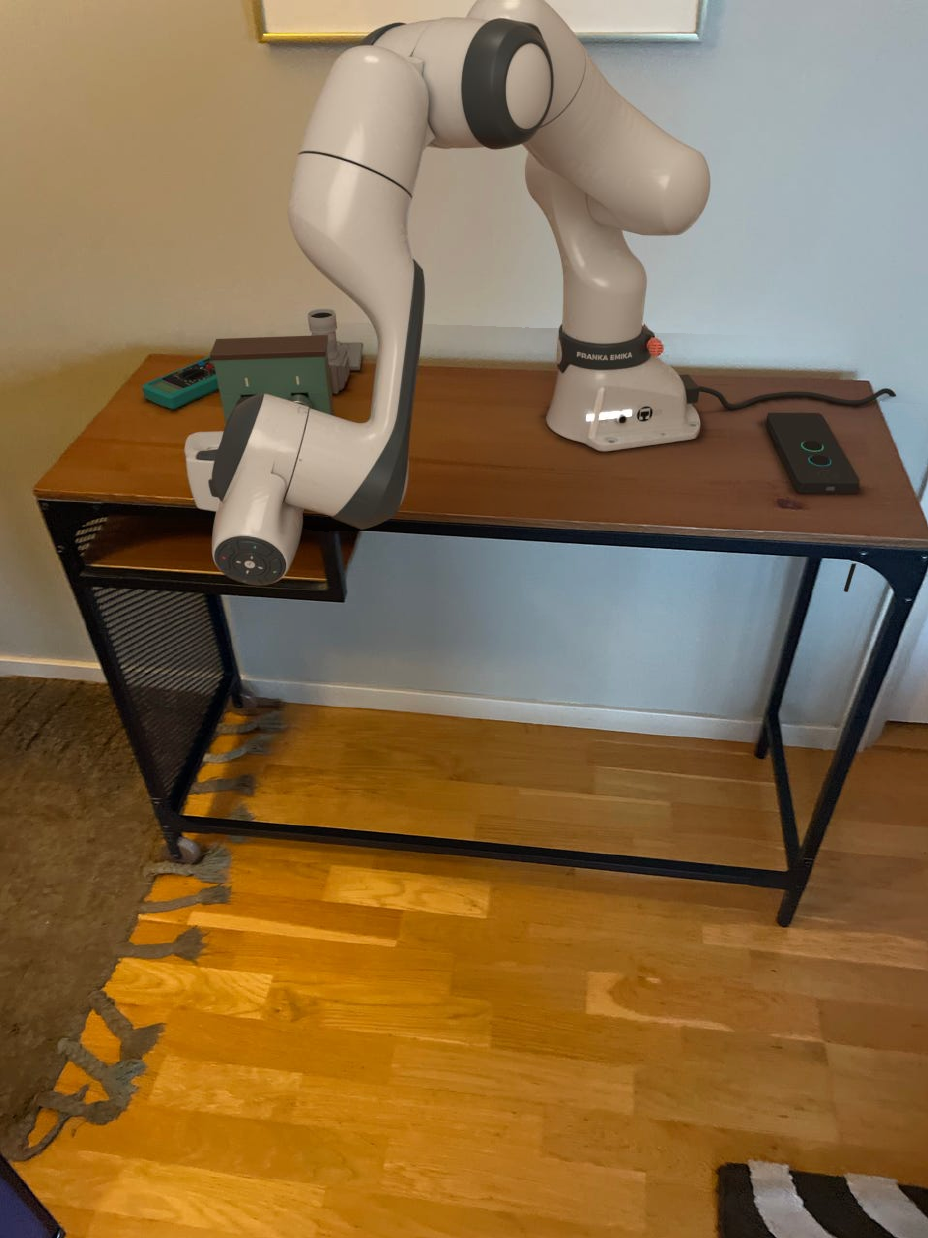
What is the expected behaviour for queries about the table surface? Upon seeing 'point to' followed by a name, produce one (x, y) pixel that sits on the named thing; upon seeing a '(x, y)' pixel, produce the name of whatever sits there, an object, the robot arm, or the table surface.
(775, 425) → the smart home device
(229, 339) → the console
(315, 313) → the camera
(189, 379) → the digital multimeter
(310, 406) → the steel knob
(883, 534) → the table surface
